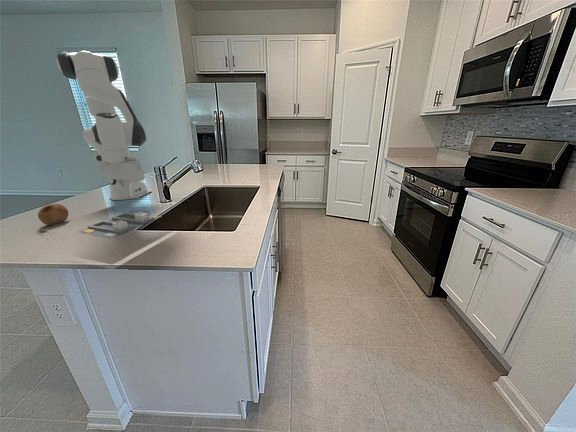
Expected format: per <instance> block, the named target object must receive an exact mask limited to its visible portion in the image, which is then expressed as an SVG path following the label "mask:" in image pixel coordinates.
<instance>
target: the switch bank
mask: <svg viewBox="0 0 576 432" xmlns="http://www.w3.org/2000/svg"><path fill="white" fill-rule="evenodd" d="M137 213H138V212H134V211H130V212H122V213H120V214H118V215H114V216H111V219H109V220H101V221H98V222H94V223H92V224H89V225H87V227H86V228H84V229H81V230H79V231H77V233H81V234H86V235H90V236H91V235H92V236H97V237H103V238H107V239H115V238H116V237H119V236H121V235H124V234H126V233H128V232H130V231H132V230H135V229H137V228H139V227H142V226H143V225H146V224H148V223H150V222H153V221H155V220H157V219H159V218H162V217H163V216H162V215H155V214H149V213H147V214H148V219H146V220H143V221H139V220H135V216H134V214H137ZM120 220H123V221H126V222H127V224H128V227H127V228H125V229H122V230H116V229H113V225H112V223H114V222H116V221H120Z"/></svg>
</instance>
